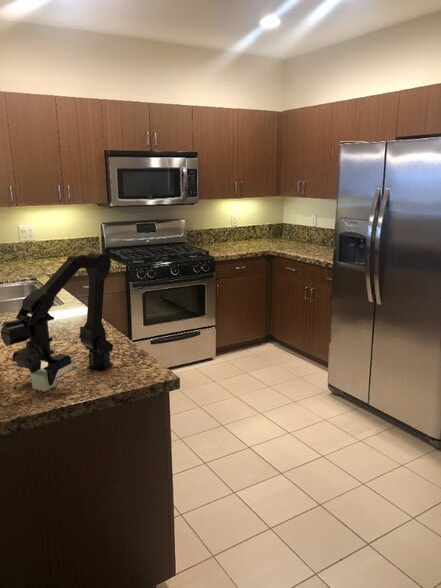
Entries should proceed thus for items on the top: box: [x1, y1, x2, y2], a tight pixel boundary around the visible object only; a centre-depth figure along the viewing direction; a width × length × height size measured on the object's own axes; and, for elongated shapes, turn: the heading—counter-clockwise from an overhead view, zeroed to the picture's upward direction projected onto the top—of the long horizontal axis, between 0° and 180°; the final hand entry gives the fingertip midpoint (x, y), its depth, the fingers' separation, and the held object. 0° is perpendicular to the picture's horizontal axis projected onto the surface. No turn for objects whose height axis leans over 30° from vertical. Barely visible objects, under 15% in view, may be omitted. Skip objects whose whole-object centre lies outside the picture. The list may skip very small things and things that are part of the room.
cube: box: [30, 368, 58, 392], centre depth 147 cm, size 5×5×5 cm
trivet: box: [41, 360, 73, 379], centre depth 159 cm, size 9×9×3 cm
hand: (44, 383), depth 148 cm, fingers closed on cube, 5 cm apart
